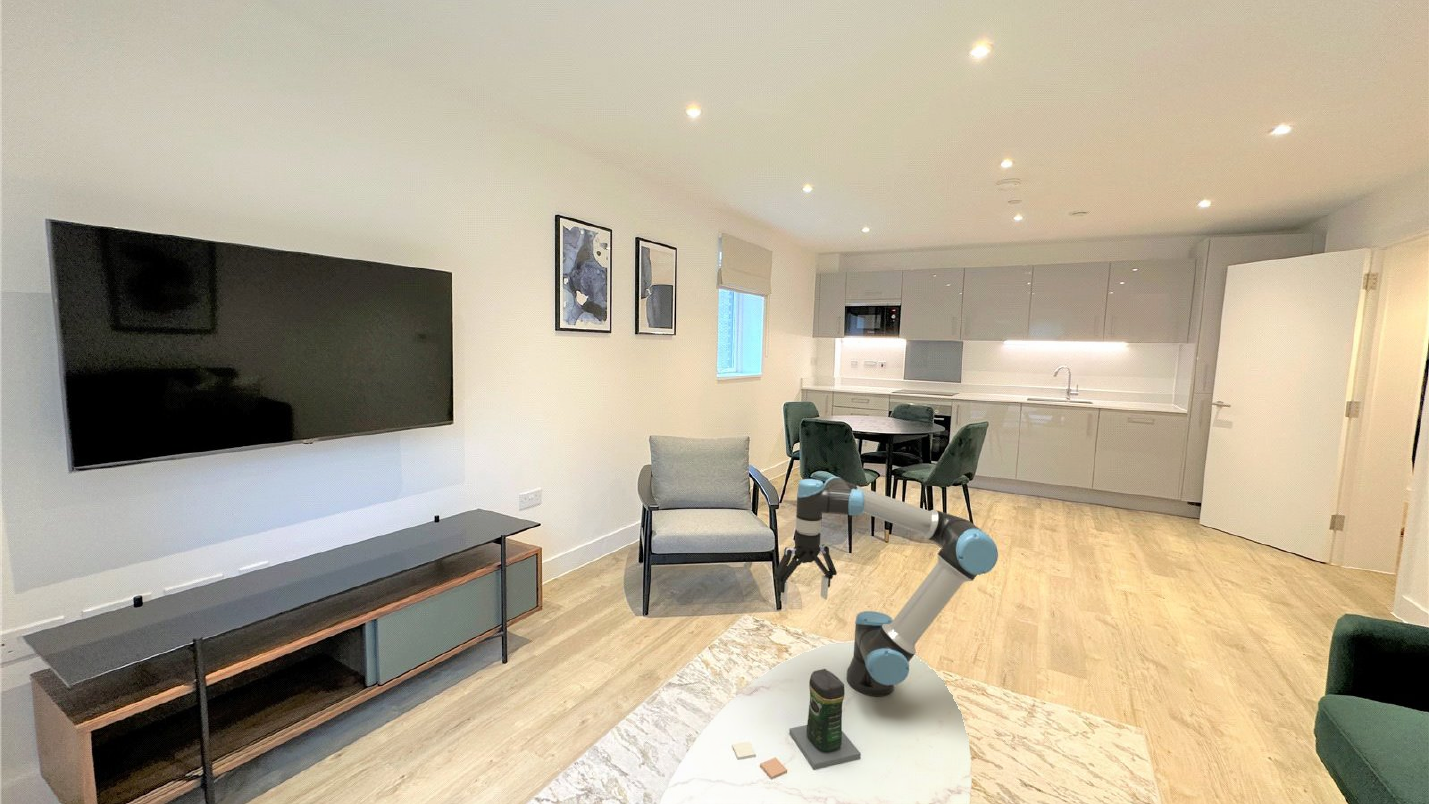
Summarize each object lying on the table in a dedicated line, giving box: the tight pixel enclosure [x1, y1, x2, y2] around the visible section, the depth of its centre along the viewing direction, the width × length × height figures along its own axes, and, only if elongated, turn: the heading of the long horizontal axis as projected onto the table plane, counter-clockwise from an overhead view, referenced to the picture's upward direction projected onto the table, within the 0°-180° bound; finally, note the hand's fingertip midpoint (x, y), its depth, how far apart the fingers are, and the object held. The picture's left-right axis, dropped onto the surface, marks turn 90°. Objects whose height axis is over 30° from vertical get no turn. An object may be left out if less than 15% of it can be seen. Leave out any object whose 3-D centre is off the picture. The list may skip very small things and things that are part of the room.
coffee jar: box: [806, 668, 846, 751], centre depth 150 cm, size 10×8×19 cm
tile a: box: [759, 757, 788, 780], centre depth 142 cm, size 5×5×1 cm
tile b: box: [731, 741, 757, 761], centre depth 148 cm, size 5×5×1 cm
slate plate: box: [788, 724, 862, 770], centre depth 151 cm, size 14×14×2 cm
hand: (804, 600), depth 167 cm, fingers open, 13 cm apart
